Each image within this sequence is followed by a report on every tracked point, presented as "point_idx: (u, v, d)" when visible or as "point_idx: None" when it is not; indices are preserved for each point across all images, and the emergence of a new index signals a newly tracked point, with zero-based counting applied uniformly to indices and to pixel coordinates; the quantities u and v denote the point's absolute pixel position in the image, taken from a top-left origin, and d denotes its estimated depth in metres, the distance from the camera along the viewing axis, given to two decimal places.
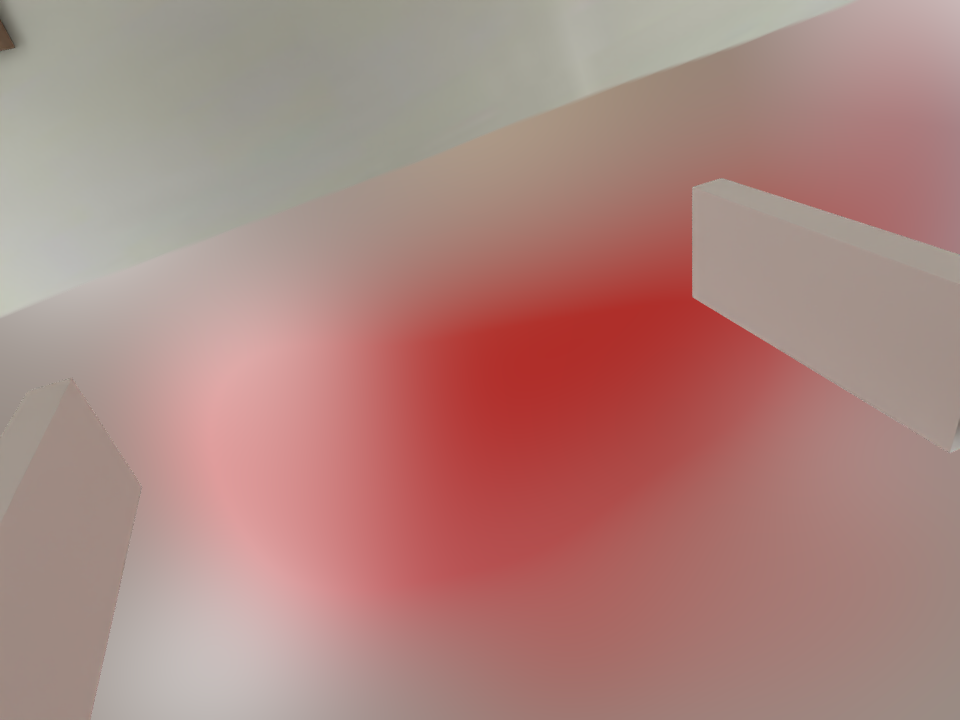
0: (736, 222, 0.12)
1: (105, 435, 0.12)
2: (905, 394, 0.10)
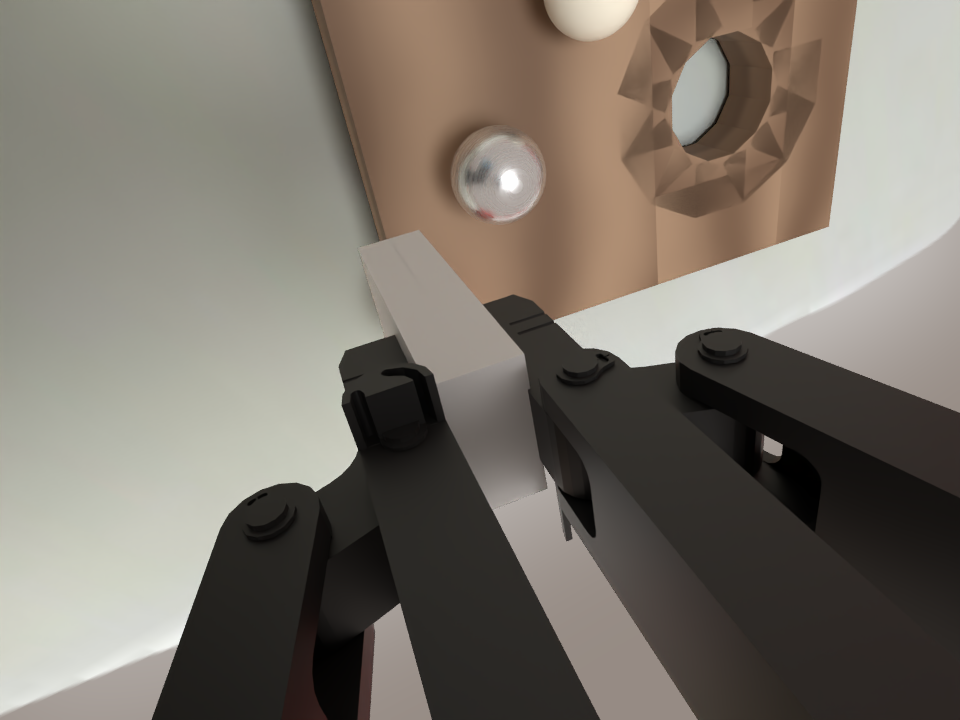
0: None
1: None
2: None
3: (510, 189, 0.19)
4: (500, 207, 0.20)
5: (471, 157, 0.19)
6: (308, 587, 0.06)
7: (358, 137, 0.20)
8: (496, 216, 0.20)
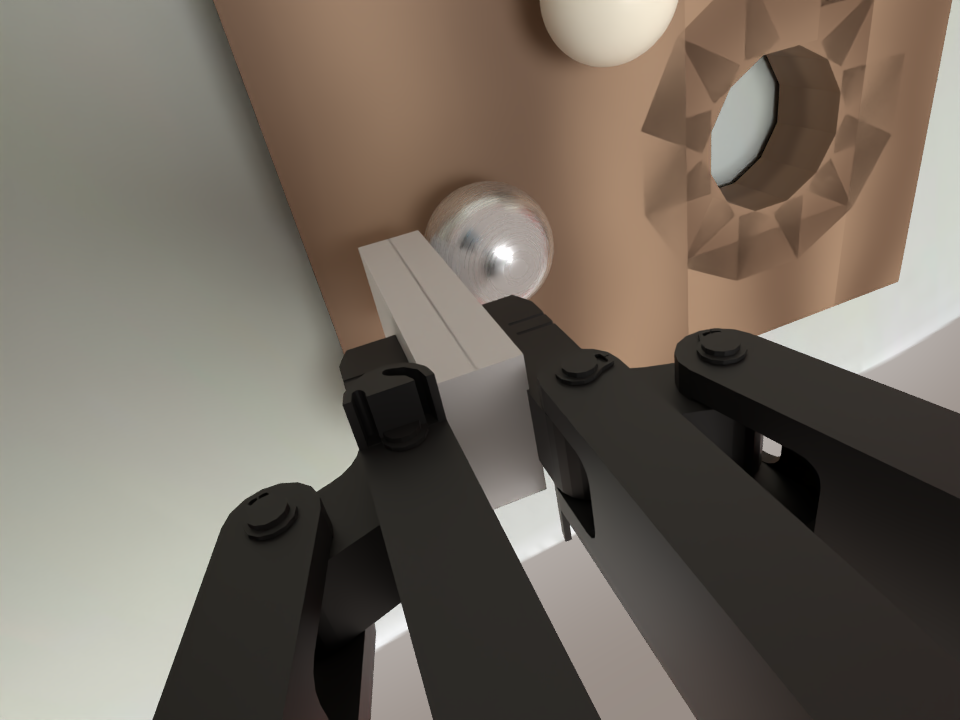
0: None
1: None
2: None
3: (511, 272, 0.14)
4: (497, 296, 0.14)
5: (454, 230, 0.14)
6: (309, 587, 0.06)
7: (288, 201, 0.15)
8: None
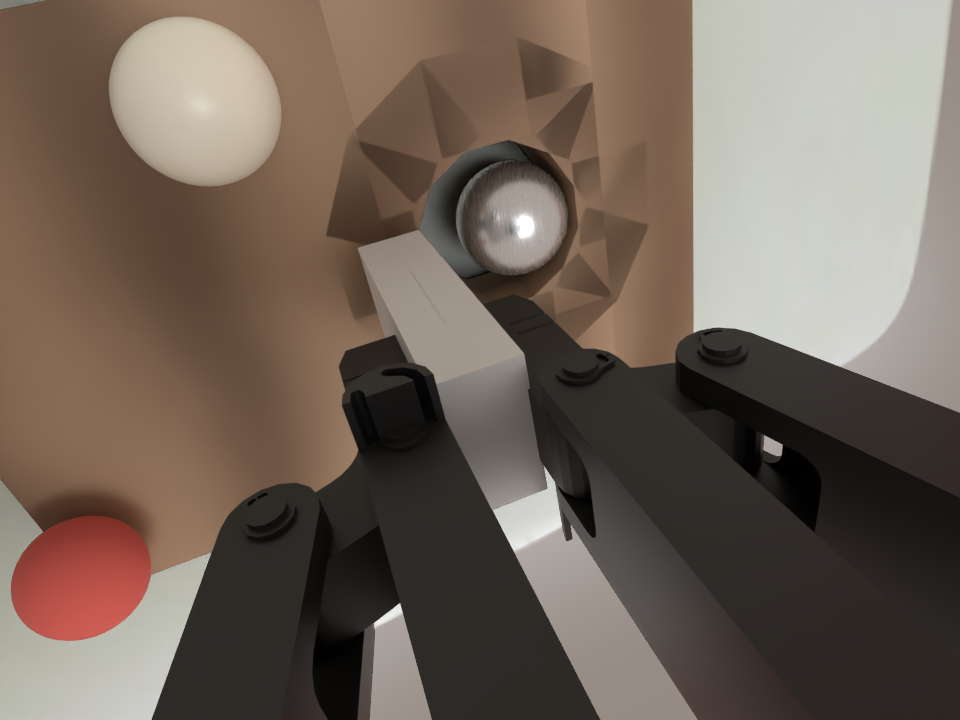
0: None
1: None
2: None
3: (567, 214, 0.17)
4: (562, 239, 0.17)
5: (528, 192, 0.16)
6: (308, 587, 0.06)
7: None
8: (553, 253, 0.17)
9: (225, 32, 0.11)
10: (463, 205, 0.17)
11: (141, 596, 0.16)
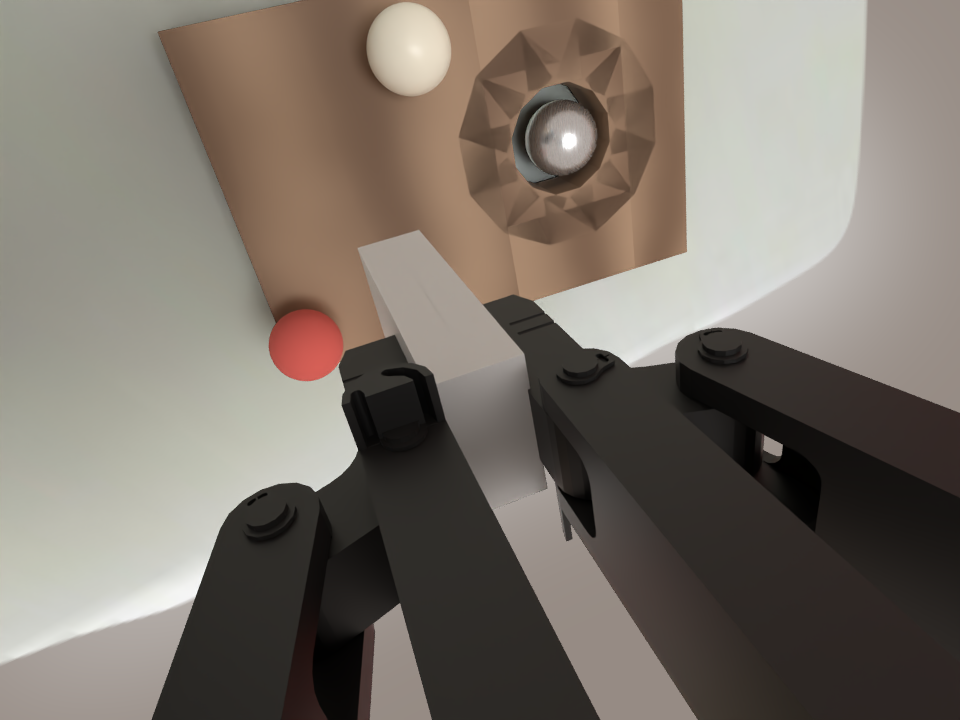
0: None
1: None
2: None
3: (595, 135, 0.27)
4: (590, 151, 0.27)
5: (568, 118, 0.26)
6: (308, 587, 0.06)
7: (217, 178, 0.23)
8: (584, 161, 0.27)
9: (430, 10, 0.21)
10: (529, 126, 0.27)
11: (339, 359, 0.26)
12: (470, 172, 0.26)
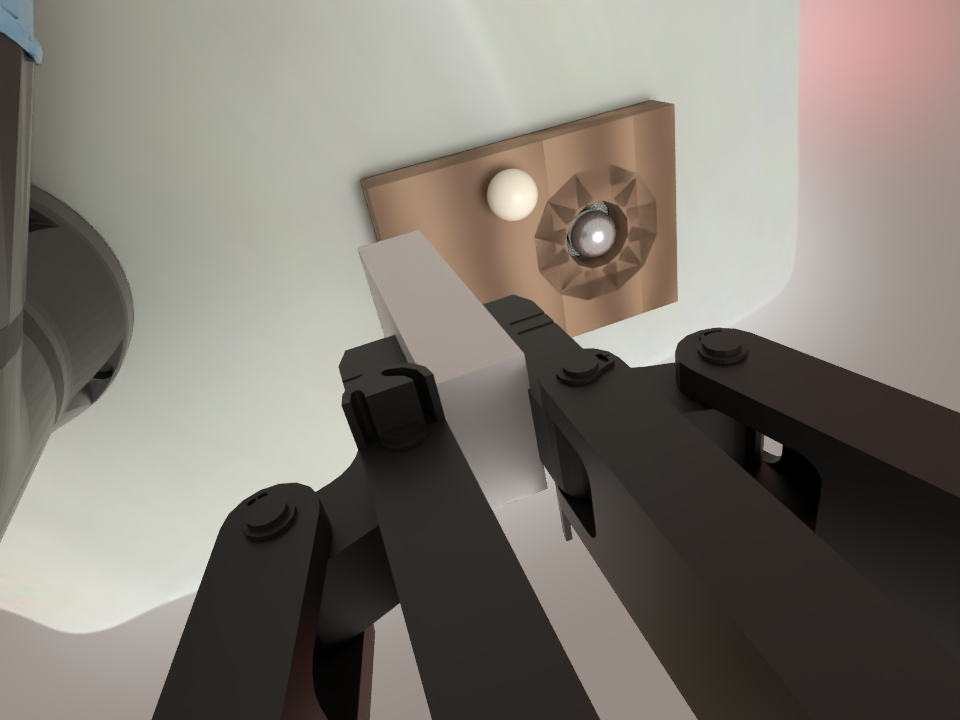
0: None
1: None
2: None
3: (613, 235, 0.41)
4: (609, 245, 0.41)
5: (595, 225, 0.41)
6: (308, 587, 0.06)
7: None
8: (605, 250, 0.42)
9: (527, 174, 0.36)
10: (571, 225, 0.42)
11: None
12: (540, 258, 0.41)
